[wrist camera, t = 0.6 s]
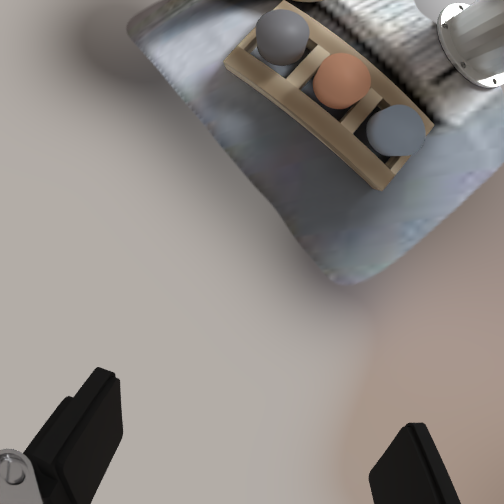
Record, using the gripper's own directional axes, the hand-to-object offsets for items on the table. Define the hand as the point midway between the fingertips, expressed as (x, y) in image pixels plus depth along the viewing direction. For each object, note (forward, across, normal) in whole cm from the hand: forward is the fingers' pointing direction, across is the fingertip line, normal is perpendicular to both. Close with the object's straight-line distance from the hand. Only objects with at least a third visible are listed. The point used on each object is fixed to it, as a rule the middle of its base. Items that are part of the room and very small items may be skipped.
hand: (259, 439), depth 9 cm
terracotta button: (+25, -3, -17) cm, 30 cm away
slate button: (+25, -10, -14) cm, 30 cm away
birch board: (+28, -3, -17) cm, 33 cm away
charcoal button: (+25, +3, -20) cm, 32 cm away
